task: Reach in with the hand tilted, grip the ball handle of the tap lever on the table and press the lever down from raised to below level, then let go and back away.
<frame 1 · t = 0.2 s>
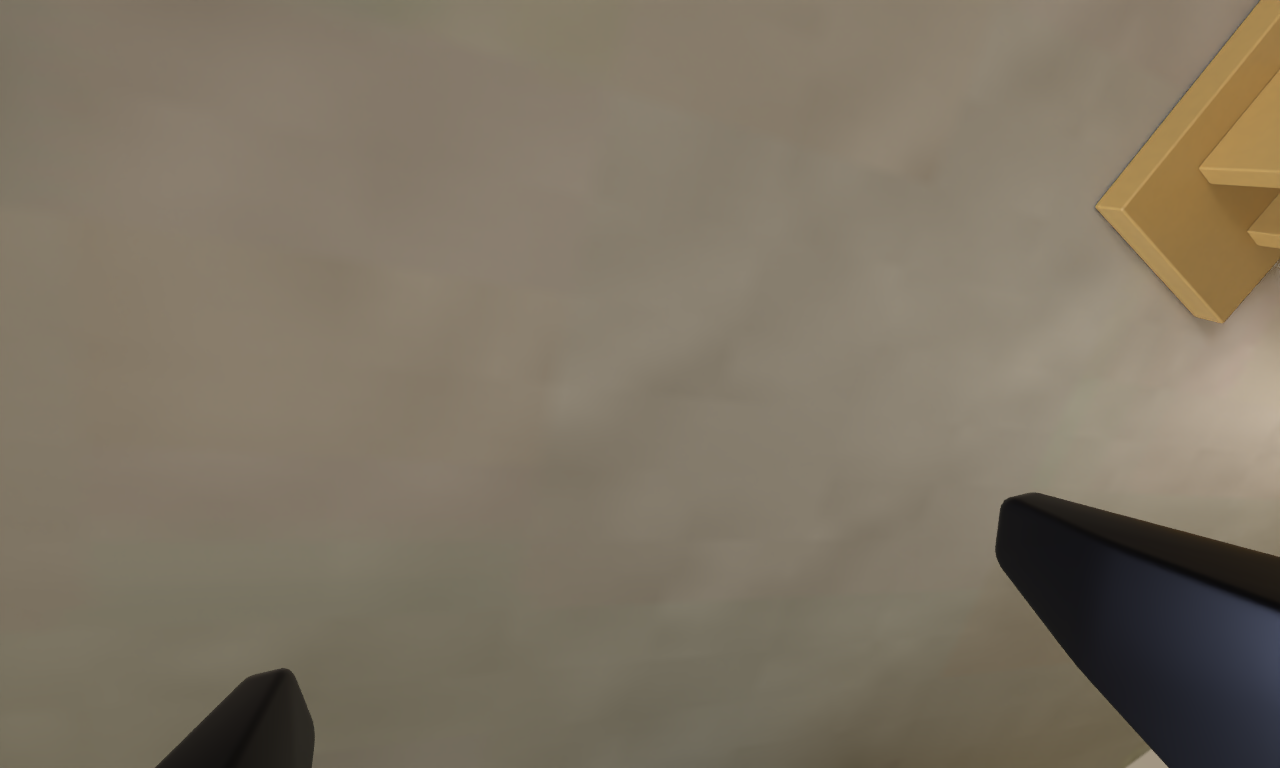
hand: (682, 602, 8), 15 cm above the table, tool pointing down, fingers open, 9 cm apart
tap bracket: (1236, 157, 25), on the table
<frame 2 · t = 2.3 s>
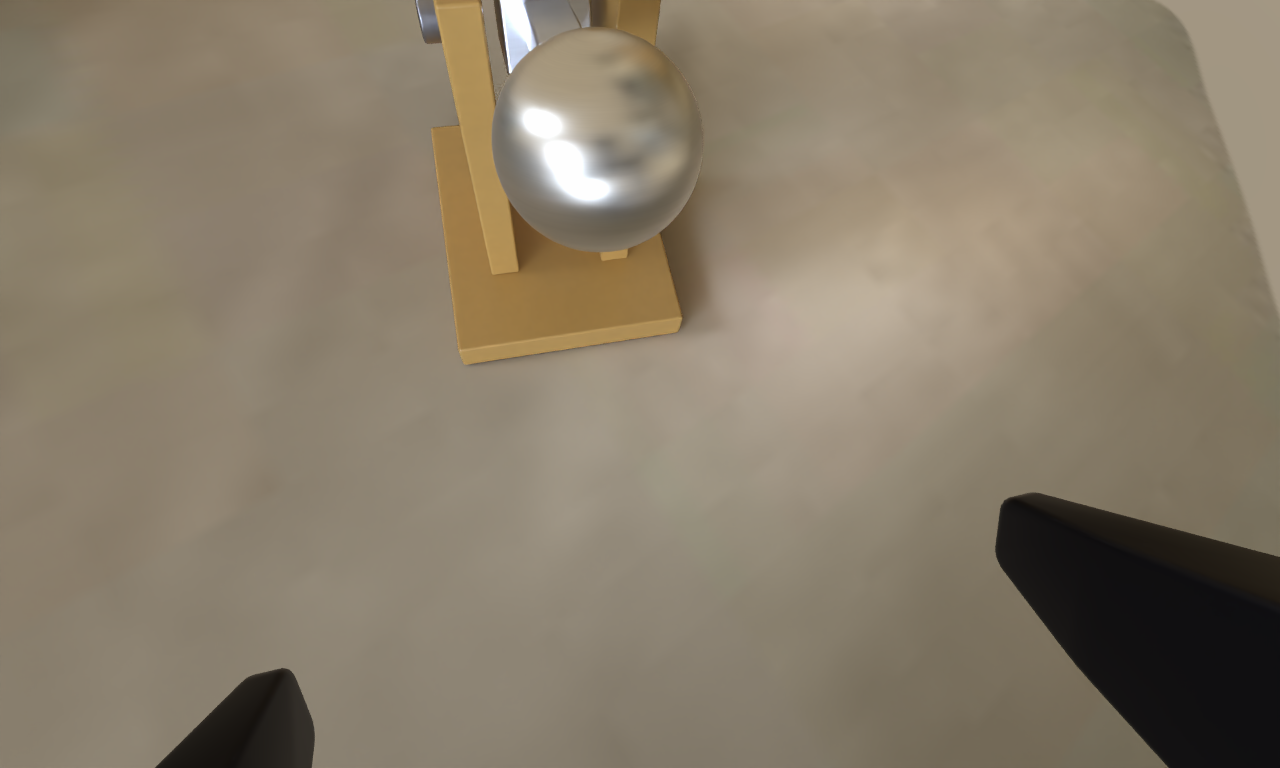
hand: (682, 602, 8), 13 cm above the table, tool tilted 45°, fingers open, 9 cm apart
tap lever: (565, 64, 14), point 12 cm above the table, hinge at 22.0°
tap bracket: (552, 236, 26), on the table
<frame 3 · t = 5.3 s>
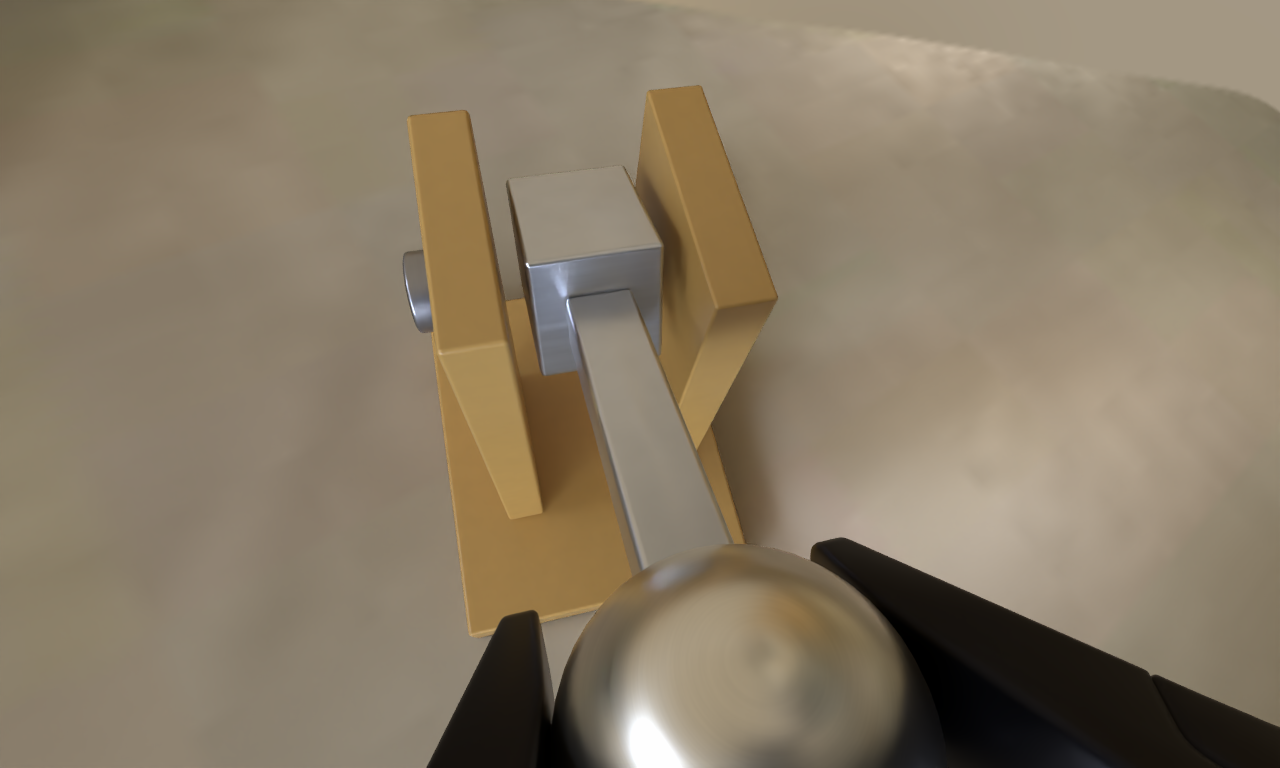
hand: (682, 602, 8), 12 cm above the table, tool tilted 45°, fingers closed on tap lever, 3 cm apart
tap lever: (641, 441, 9), point 12 cm above the table, hinge at 22.0°, touching gripper
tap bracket: (581, 444, 21), on the table
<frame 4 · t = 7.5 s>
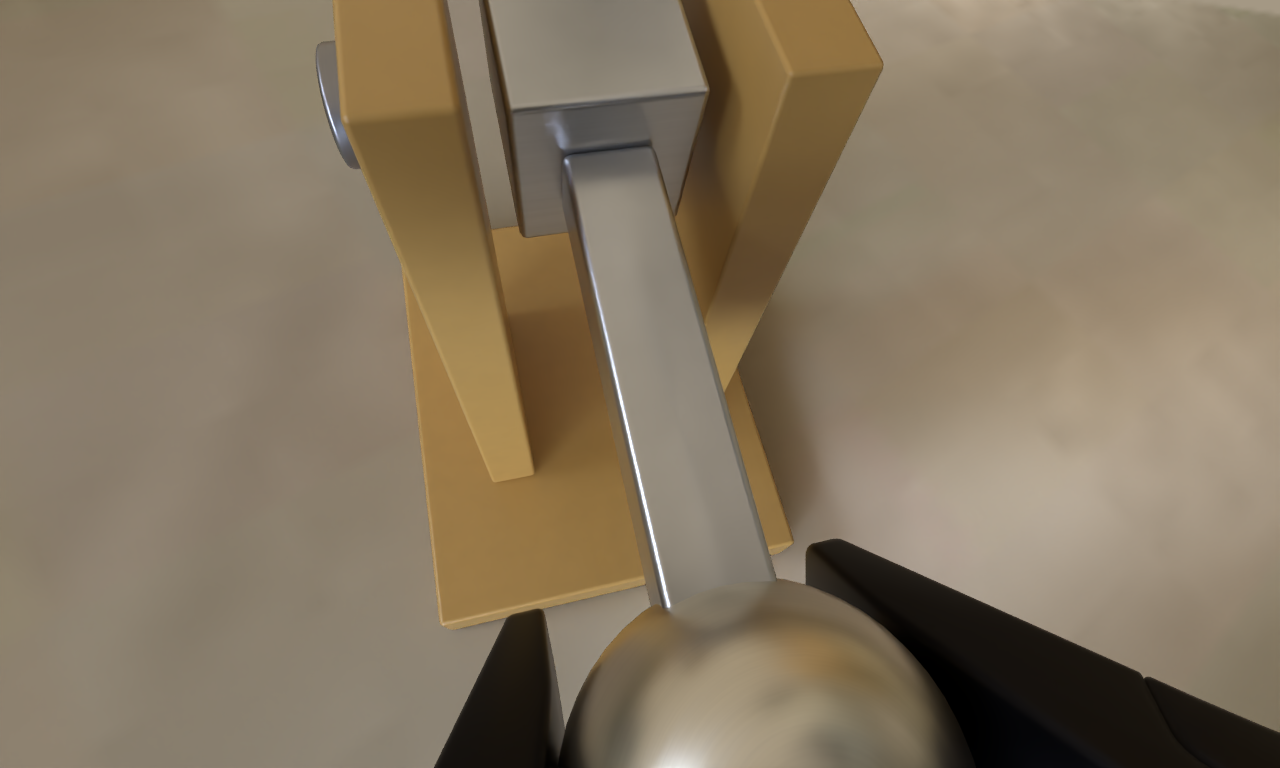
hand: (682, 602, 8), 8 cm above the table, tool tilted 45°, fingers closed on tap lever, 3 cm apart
tap lever: (660, 390, 7), point 10 cm above the table, hinge at -5.1°, touching gripper
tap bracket: (581, 399, 17), on the table
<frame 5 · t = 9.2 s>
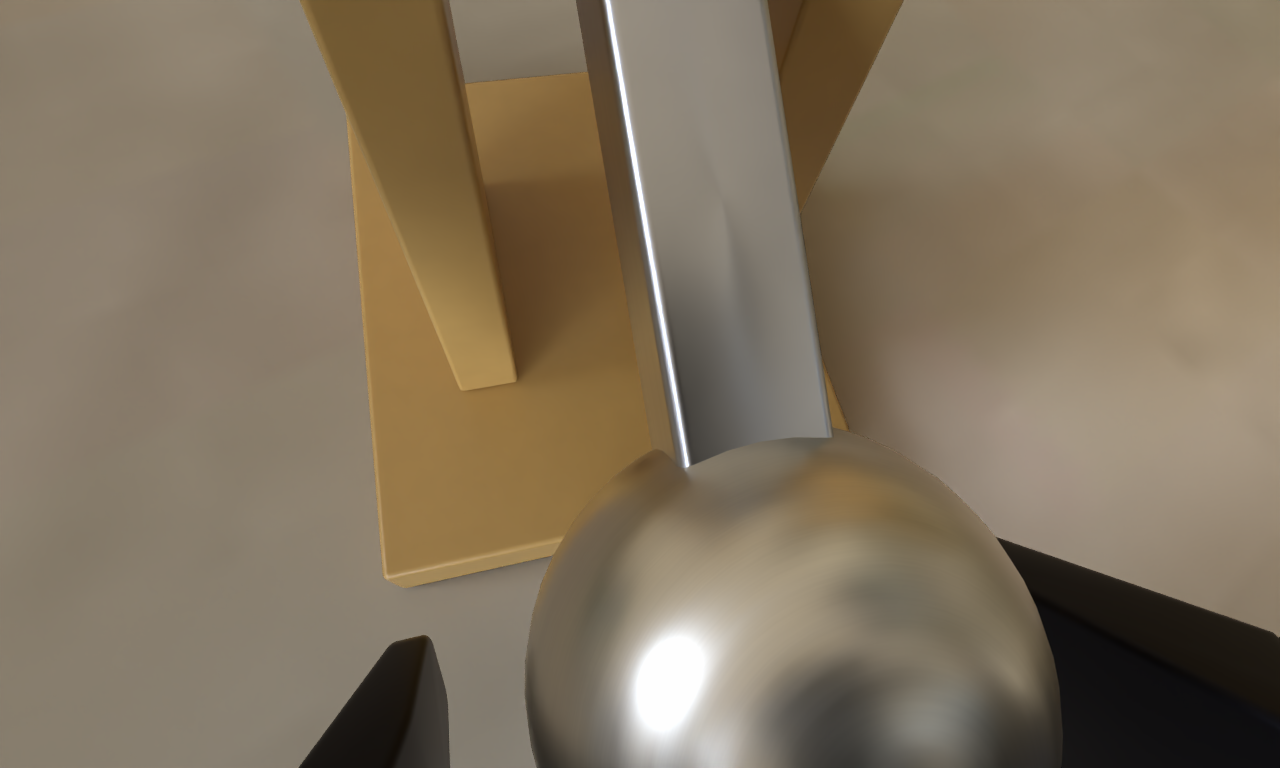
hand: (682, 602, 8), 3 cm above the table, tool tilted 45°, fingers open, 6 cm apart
tap lever: (688, 144, 5), point 8 cm above the table, hinge at -26.1°
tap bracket: (580, 298, 13), on the table
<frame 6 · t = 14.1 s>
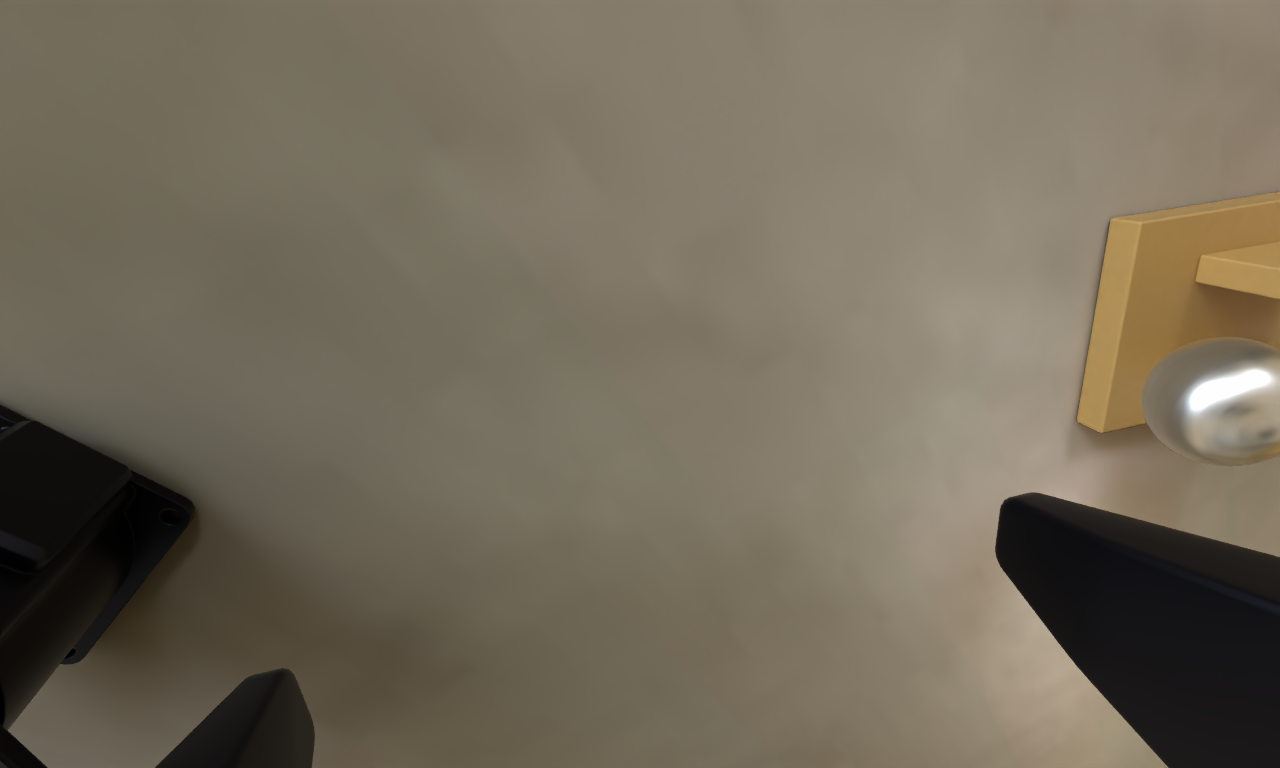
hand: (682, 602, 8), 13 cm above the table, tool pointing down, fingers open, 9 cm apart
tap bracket: (1200, 305, 25), on the table
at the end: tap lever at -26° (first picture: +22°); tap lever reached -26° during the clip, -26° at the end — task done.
